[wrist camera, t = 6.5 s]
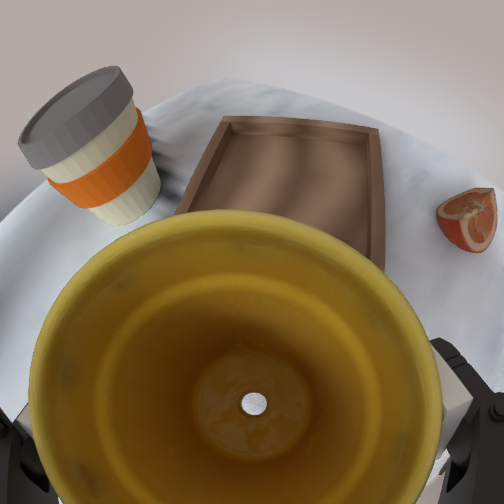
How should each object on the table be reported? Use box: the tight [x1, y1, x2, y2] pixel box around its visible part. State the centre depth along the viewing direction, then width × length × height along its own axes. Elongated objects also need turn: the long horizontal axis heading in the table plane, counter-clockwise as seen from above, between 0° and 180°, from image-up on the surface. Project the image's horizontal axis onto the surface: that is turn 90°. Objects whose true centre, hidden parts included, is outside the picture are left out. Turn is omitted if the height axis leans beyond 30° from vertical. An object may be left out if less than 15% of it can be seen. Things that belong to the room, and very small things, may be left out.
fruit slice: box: [436, 188, 497, 253], centre depth 21 cm, size 8×7×5 cm
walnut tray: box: [174, 116, 385, 273], centre depth 27 cm, size 18×18×3 cm
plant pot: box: [28, 209, 443, 504], centre depth 9 cm, size 10×10×10 cm
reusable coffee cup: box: [18, 66, 161, 226], centre depth 25 cm, size 13×12×15 cm
